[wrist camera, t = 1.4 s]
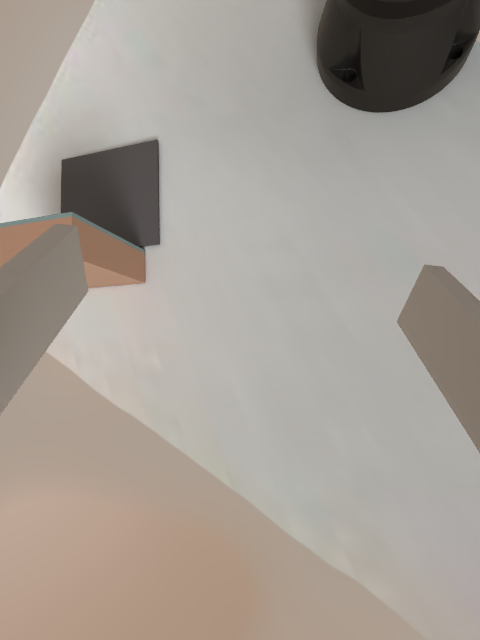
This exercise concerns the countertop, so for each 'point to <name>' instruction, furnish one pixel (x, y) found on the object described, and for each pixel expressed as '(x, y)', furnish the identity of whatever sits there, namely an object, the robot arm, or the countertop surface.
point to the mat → (116, 191)
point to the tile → (96, 246)
